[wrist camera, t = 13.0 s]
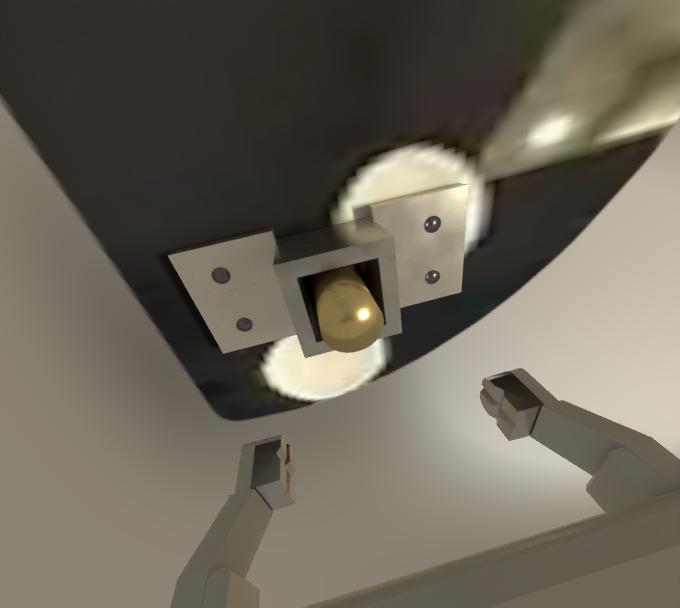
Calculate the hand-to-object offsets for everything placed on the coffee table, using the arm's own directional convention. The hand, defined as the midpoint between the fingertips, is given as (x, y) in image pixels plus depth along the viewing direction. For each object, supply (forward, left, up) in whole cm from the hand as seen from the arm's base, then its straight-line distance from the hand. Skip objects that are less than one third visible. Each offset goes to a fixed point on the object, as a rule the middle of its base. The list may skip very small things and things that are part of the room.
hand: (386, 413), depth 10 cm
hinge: (0, 0, -16) cm, 16 cm away
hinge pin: (0, 0, -16) cm, 16 cm away
